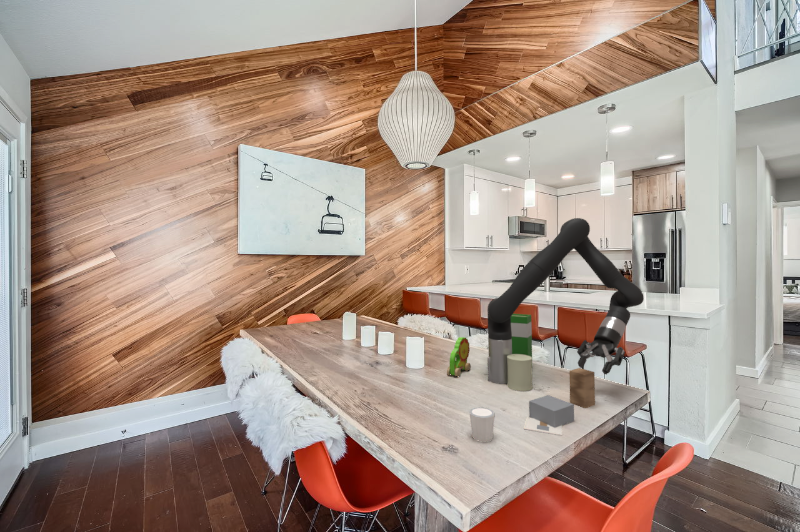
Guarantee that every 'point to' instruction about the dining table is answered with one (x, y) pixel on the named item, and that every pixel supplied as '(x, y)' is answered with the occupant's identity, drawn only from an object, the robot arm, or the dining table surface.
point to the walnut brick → (582, 387)
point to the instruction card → (541, 427)
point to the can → (519, 372)
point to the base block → (551, 411)
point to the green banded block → (521, 334)
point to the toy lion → (459, 357)
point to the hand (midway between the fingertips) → (591, 369)
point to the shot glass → (482, 423)
